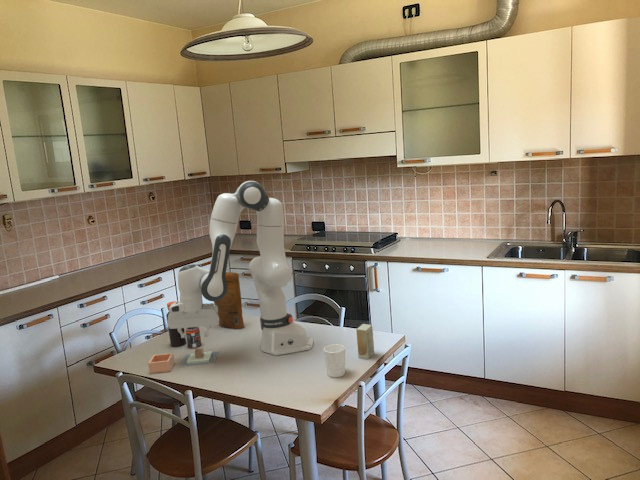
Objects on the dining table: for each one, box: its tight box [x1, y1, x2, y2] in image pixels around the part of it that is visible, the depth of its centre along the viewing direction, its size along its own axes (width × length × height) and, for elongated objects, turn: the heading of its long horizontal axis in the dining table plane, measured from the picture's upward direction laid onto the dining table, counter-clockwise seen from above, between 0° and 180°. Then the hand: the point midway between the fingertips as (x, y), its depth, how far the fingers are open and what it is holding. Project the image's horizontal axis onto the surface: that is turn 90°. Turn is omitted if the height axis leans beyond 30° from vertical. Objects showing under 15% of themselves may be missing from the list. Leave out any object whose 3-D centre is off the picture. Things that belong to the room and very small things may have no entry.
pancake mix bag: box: [213, 271, 246, 330], centre depth 252 cm, size 7×19×28 cm, turn 59°
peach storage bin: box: [147, 352, 176, 375], centre depth 211 cm, size 8×8×5 cm
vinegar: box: [165, 300, 187, 348], centre depth 234 cm, size 7×7×20 cm
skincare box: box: [355, 323, 375, 360], centre depth 207 cm, size 6×4×12 cm
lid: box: [187, 348, 213, 364], centre depth 217 cm, size 9×9×4 cm
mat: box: [179, 350, 220, 368], centre depth 218 cm, size 14×12×1 cm
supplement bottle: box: [185, 327, 202, 349], centre depth 231 cm, size 6×6×11 cm
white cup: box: [323, 343, 346, 378], centre depth 194 cm, size 8×8×10 cm
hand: (195, 336), depth 216 cm, fingers open, 8 cm apart
